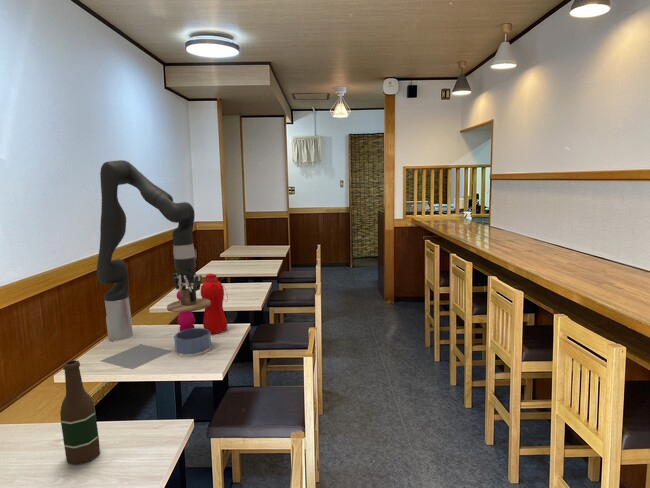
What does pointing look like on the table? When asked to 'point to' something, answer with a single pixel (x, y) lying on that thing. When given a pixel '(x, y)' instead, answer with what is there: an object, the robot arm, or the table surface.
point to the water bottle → (214, 305)
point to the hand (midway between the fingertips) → (188, 300)
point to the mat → (136, 356)
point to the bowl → (192, 341)
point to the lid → (188, 303)
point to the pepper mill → (185, 318)
